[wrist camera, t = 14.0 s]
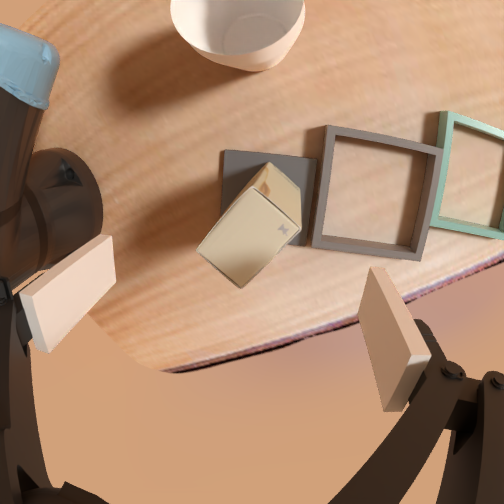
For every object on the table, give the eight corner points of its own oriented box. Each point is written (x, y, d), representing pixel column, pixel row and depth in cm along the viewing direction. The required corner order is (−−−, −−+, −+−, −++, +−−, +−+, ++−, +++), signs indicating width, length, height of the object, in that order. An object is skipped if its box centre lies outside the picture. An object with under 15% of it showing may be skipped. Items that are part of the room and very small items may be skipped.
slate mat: (220, 234, 34) (219, 236, 34) (226, 149, 31) (224, 149, 30) (305, 244, 34) (305, 246, 33) (316, 159, 30) (317, 159, 30)
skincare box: (268, 159, 30) (254, 178, 19) (301, 189, 31) (307, 226, 20) (226, 207, 33) (191, 251, 21) (259, 234, 33) (240, 292, 22)
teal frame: (422, 220, 31) (429, 225, 29) (440, 111, 26) (448, 110, 25) (501, 235, 30) (509, 241, 28) (519, 140, 25) (529, 142, 24)
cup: (284, 95, 28) (279, 75, 17) (198, 69, 28) (149, 43, 17) (313, 18, 25) (323, -35, 14) (228, -5, 25) (196, -59, 14)
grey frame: (310, 240, 34) (311, 247, 32) (325, 125, 29) (327, 124, 27) (414, 254, 33) (420, 261, 31) (435, 147, 28) (443, 149, 26)
